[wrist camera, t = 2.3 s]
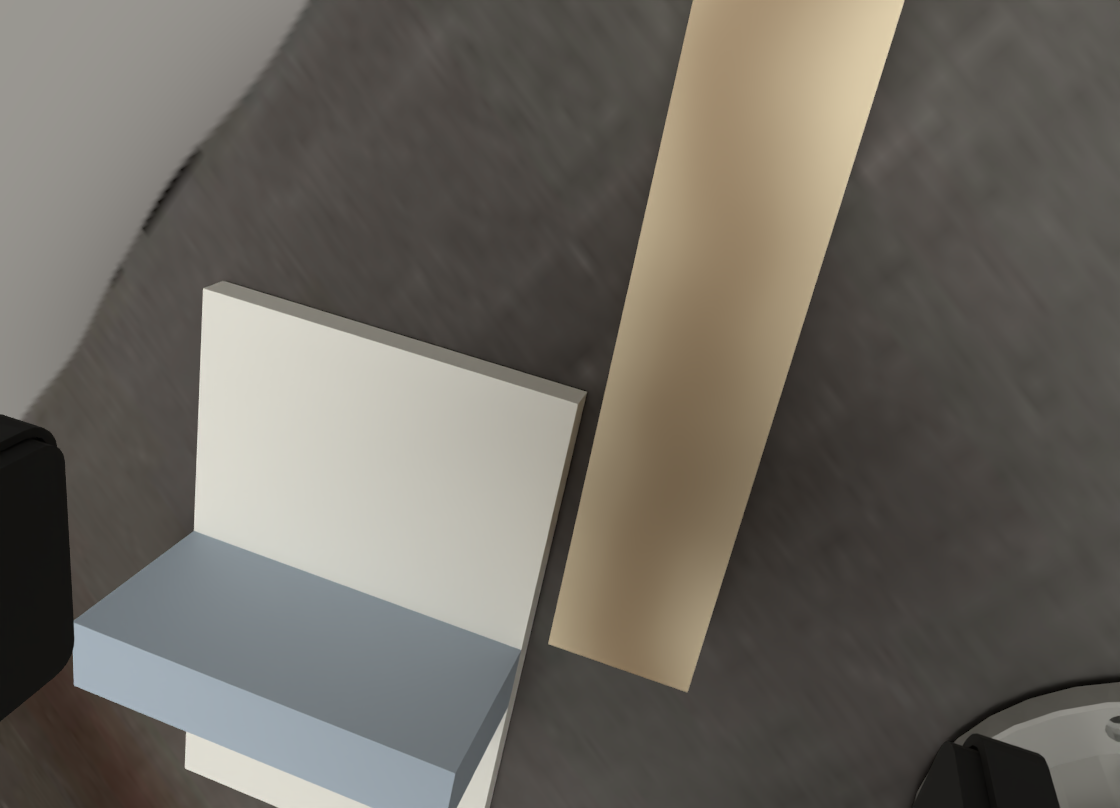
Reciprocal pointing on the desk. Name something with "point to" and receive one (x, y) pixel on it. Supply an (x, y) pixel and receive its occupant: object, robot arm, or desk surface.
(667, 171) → the rod
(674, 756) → the desk surface
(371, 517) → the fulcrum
